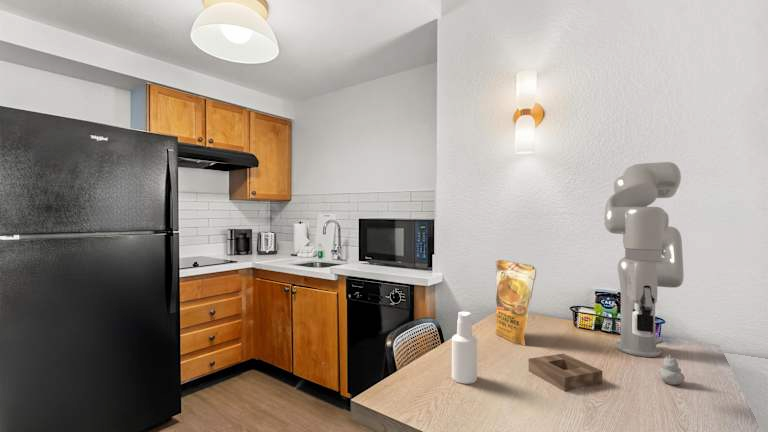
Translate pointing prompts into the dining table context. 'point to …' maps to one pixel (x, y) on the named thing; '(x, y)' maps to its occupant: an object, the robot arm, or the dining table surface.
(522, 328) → the pancake mix bag
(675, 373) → the grey swirl figurine
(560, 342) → the dining table surface
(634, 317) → the pill bottle
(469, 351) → the spray bottle
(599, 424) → the dining table surface
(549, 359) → the holder block
